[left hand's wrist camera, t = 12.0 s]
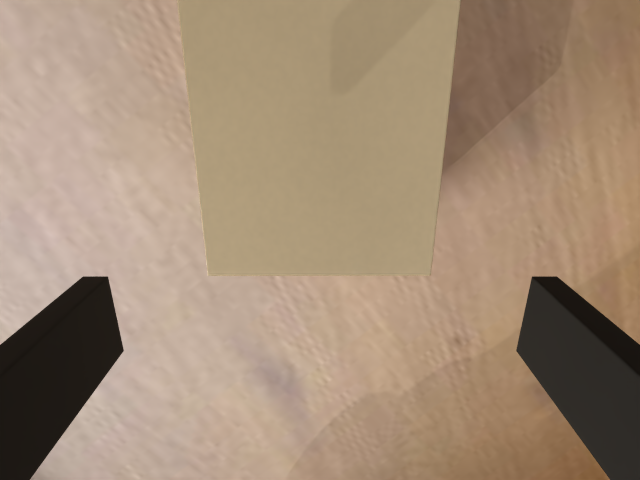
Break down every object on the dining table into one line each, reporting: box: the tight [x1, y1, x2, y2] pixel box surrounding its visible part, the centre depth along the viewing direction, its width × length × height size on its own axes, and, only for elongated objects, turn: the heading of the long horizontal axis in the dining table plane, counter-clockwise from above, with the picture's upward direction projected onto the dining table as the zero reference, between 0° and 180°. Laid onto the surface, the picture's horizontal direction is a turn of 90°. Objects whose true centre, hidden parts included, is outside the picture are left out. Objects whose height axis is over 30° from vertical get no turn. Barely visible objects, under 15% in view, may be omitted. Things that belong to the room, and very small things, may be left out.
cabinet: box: [177, 0, 461, 276], centre depth 22 cm, size 18×11×10 cm, turn 0°
